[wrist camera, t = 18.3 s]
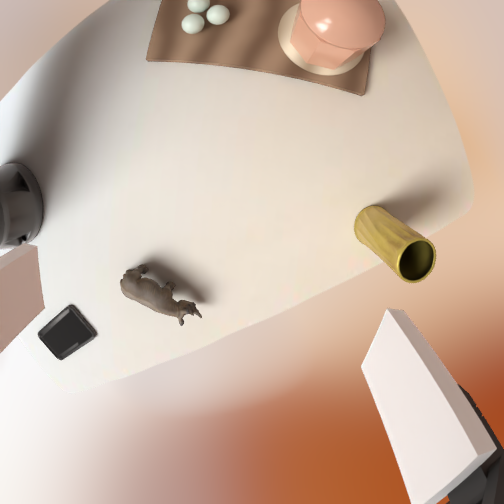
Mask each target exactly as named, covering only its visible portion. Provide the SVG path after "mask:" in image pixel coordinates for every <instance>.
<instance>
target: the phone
mask: <svg viewBox="0 0 504 504" xmlns="http://www.w3.org/2000/svg"><path fill="white" fill-rule="evenodd" d="M83 319H84V318H83V317H82V315H81V314H80V313H79V312H78V311H77V309H76V308H75V307H74V306H72V305H69V306H67V307H66V308H65V309H64V310H63V311H61V312H60V313H59V314H58V315H57V316H56V317H55V318H54V319H52V320H51V321H50V322H49V323H48V324H47V325H46V326H45V327H43V328H42V329H41V330H40V331H39V332H38V337H39V338H40V340H41V341H42V342H43V343H44V344H45V345H46V346H47V348H48V349H49V350H50V351H51V352H52V353H53V354H54V355H55V357H56V358H57V359H59V360H63V359H64V358H66V357H67V356H69V355H70V354H72V353H73V352H75V351H76V350H78V349H79V348H81V347H82V346H84V345H85V344H87V343H88V342H90V341H91V340H93V339H94V338H95V336H96V332H95V331H94V329H93V328H92V327H91V326H90V325H89V324H88V322H87V321H86V320H85V319H84V320H83ZM85 322H86V323H85ZM91 328H92V329H91Z"/></svg>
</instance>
